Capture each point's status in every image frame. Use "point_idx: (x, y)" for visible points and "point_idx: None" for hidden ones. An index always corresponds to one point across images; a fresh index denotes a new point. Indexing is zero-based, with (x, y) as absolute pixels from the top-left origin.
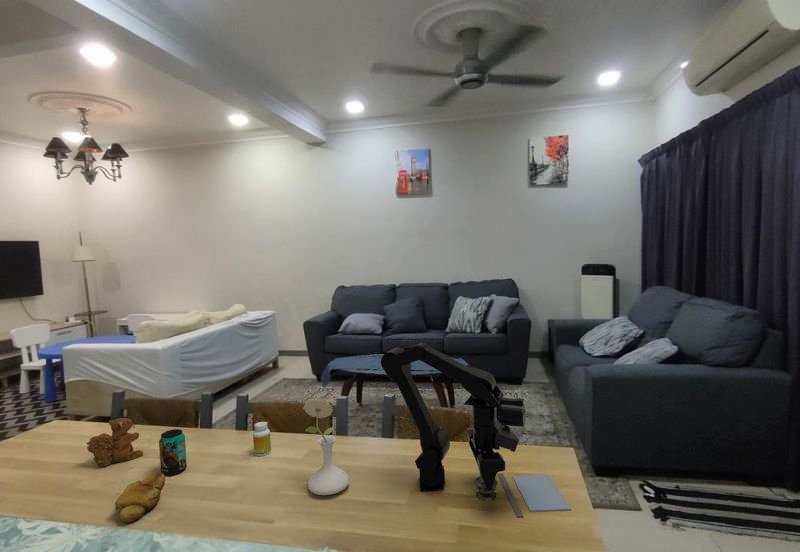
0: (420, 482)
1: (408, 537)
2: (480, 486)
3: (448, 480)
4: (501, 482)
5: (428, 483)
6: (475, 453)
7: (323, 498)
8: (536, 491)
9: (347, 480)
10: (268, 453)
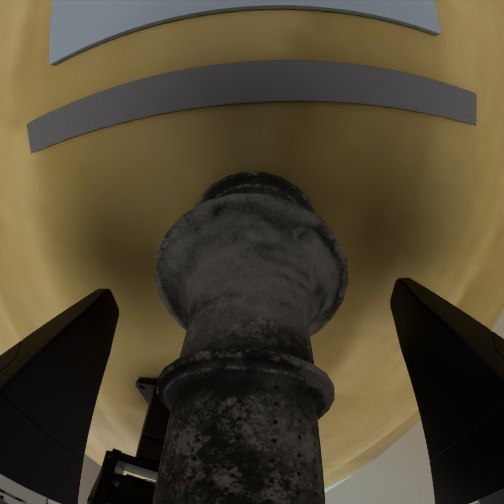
0: None
1: (413, 412)
2: (317, 331)
3: (142, 363)
4: (106, 126)
5: None
6: (72, 449)
7: None
8: None
9: None
10: (154, 481)
